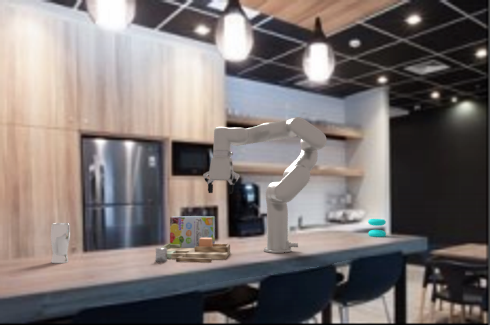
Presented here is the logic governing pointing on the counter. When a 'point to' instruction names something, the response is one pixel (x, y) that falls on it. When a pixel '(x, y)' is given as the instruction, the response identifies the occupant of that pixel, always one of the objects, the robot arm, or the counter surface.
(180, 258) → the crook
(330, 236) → the counter surface
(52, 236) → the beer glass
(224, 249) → the wooden tray
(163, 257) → the can
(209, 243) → the cube
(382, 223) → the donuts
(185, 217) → the snack box
